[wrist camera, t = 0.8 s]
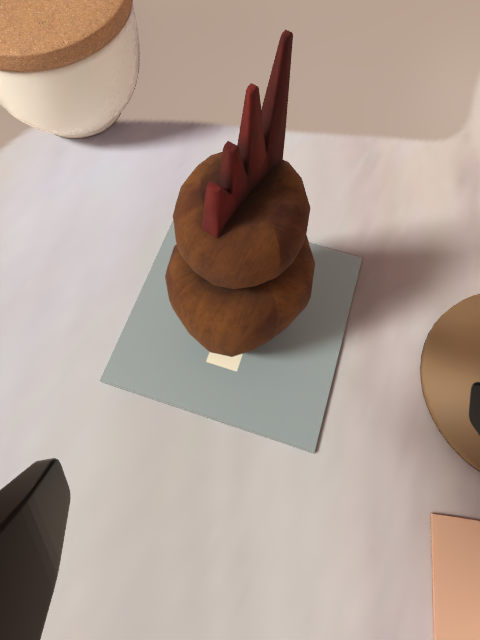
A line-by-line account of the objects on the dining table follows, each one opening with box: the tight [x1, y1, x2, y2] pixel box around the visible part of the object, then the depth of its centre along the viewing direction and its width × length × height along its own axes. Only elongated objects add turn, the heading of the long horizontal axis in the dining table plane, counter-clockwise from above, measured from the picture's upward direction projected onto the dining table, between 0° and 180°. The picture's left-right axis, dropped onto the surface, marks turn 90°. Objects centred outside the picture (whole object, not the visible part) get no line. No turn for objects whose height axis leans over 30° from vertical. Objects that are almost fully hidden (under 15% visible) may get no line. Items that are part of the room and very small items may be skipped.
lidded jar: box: [0, 0, 139, 138], centre depth 25 cm, size 11×11×9 cm
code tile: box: [100, 221, 362, 453], centre depth 23 cm, size 12×12×1 cm
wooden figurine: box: [165, 30, 315, 357], centre depth 16 cm, size 7×6×15 cm
